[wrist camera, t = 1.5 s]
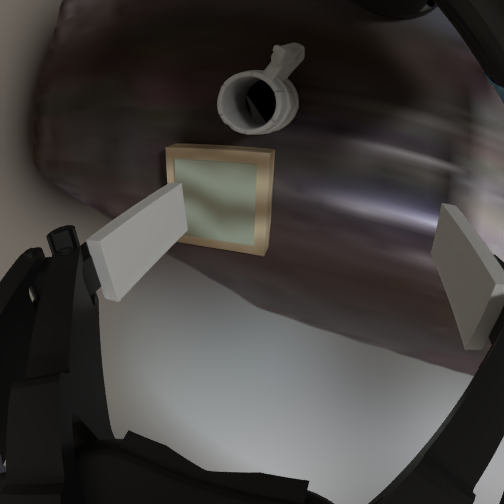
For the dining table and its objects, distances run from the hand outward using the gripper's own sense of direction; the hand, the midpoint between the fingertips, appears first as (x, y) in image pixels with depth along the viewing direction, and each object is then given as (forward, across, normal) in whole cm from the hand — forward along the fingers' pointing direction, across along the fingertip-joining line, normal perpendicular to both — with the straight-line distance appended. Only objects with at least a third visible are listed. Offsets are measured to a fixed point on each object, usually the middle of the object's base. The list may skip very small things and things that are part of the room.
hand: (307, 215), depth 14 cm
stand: (+24, -14, -8) cm, 29 cm away
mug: (+25, -6, +6) cm, 27 cm away
